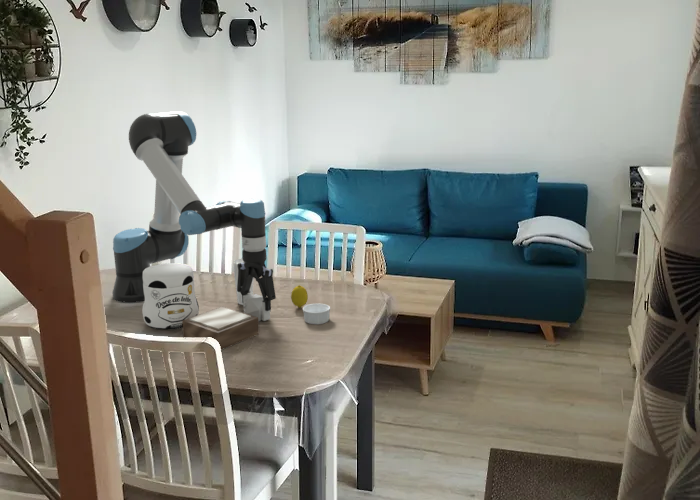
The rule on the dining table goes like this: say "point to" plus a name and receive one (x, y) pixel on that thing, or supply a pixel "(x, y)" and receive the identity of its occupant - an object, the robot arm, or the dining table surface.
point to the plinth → (222, 326)
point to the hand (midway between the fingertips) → (256, 316)
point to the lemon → (299, 296)
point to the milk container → (168, 295)
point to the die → (254, 306)
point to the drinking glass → (239, 295)
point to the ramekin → (316, 313)
